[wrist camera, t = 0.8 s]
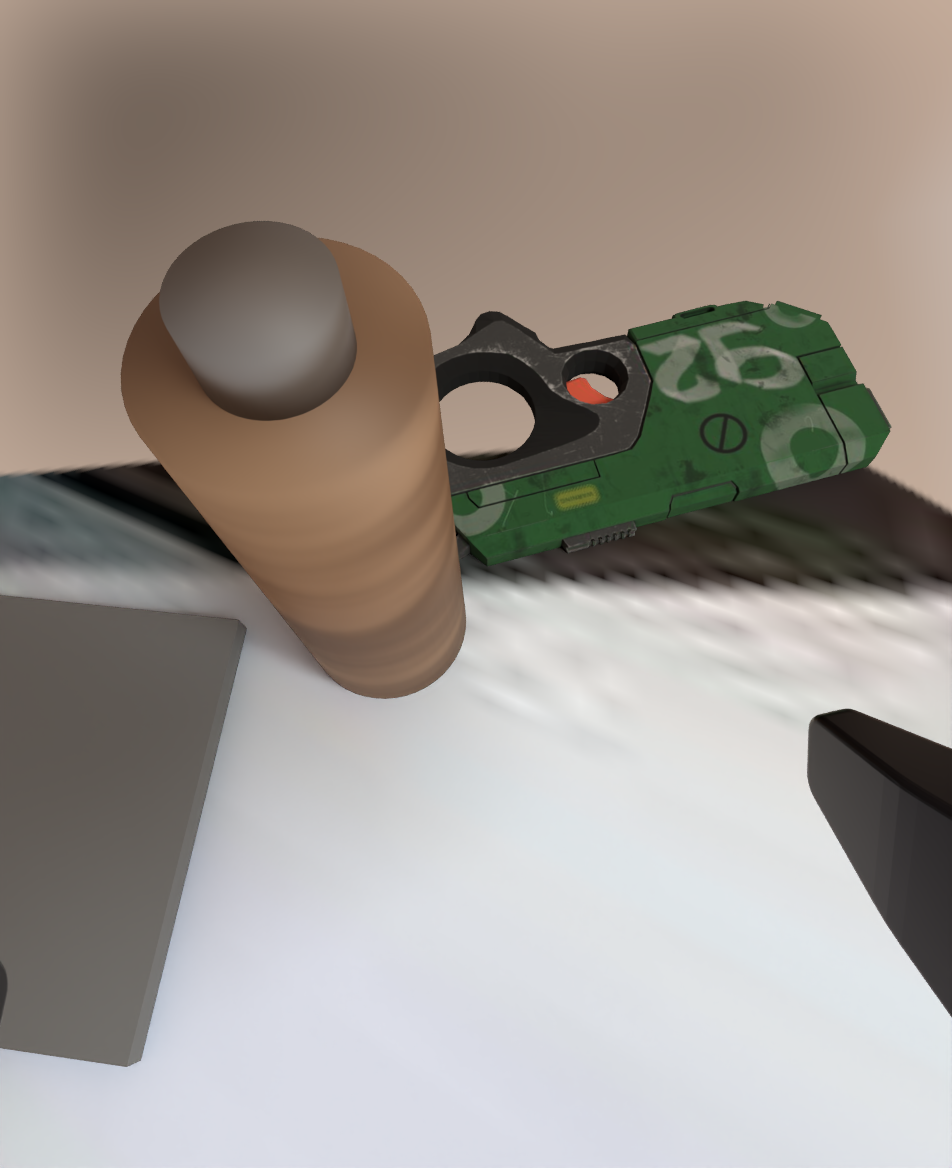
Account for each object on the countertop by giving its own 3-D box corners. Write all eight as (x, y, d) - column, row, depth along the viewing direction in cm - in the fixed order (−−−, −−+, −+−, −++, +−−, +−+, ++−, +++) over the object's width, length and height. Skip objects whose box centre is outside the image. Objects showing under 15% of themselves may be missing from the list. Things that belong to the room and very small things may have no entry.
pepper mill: (455, 706, 23) (392, 451, 10) (296, 689, 23) (25, 420, 10) (474, 558, 25) (444, 173, 12) (326, 544, 25) (132, 155, 12)
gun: (784, 233, 28) (910, 451, 25) (771, 263, 30) (889, 473, 26) (366, 332, 27) (432, 576, 24) (372, 358, 29) (436, 593, 25)
